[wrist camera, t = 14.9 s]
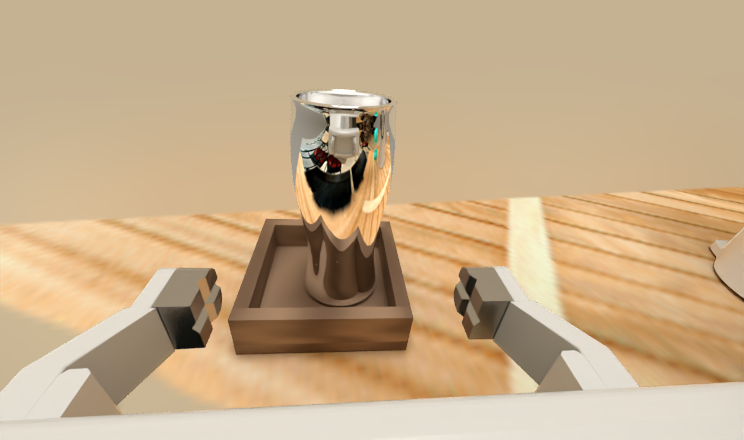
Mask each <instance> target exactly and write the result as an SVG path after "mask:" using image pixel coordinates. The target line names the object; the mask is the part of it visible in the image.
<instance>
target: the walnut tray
mask: <svg viewBox="0 0 744 440" xmlns="http://www.w3.org/2000/svg"><path fill="white" fill-rule="evenodd" d="M307 263H308V242H307V237H306V233H305V228H304V225H303V221H302V220H294V219H266V220H265V223H264V226H263V228H262V231H261V234H260V236H259V239H258V242H257V244H256V247H255V250H254V252H253V255H252V258H251V260H250V263H249V266H248V268H247V271H246V274H245V276H244V279H243V282H242V284H241V287H240V290H239V292H238V295H237V298H236V300H235V303H234V306H233V308H232V311H231V314H230V316H229V319H228V323H229V327H230V331H231V335H232V339H233V343H234V347H235V351H236V354H264V353H302V352H340V351H378V350H406V347H407V342H408V338H409V334H410V329H411V325H412V321H413V315H412V311H411V307H410V303H409V299H408V295H407V291H406V287H405V283H404V279H403V275H402V271H401V267H400V262H399V258H398V254H397V250H396V246H395V242H394V238H393V234H392V230H391V226H390V222H381V223H380V226H379V229H378V233H377V237H376V241H375V246H374V265H375V272H376V285H375V288H374V290H373V292H372V293H371V294H370V295H369V296H368V297H367V298H366V299H364V300H363V301H361V302H358V303H355V304H352V305H347V306H333V305H328V304H325V303H322V302H320V301H318V300H316V299H315V298H313V297H312V296H311V295H310V294H309V292H308V291H307V289H306V286H305V274H306V268H307Z"/></svg>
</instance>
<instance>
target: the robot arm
mask: <svg viewBox="0 0 744 440" xmlns="http://www.w3.org/2000/svg"><path fill="white" fill-rule="evenodd" d="M710 249H711V250H712V252H713V253H714V254H715V256H716V260H715V262H714V268H715V271H716V272H717V274H718V275H719V277H720V278H721V279H722V280H723V281H724V282H725V283H726V284H727V285H728V286H729V287H730V288H731V289H732V290H734V291H735V292H736V293H737V294H739V295H740V296H741V297H743V298H744V228H743V229H742V230H741V231H739V232H738V233H737V234H736V235H735V236H734V237H733V238H732V239H731V240H730V241H726V240H716V241H715V242H714V243H713V244H711V245H710ZM459 278H460V280H461V281H460V282H459V283H458V284H457V285H456V286H455V290H454V302H455V306H456V309H457V312H458V313H460V314H461V315H462V316H463V317H464V318H463V321H462V324H463V327H464V329H465V332H466V334H467V337H468V339H493V341H494V342H495V343H496V344H497V345H498V346H499V347H500V348H501V349H502V350H503V351H504V352H505V353H506V354H507V355H508V356H510V357H511V358H512V359H513V360H514V361H515V362H516V363H517V364H518V365H519V366H520V367H521V368H522V369H523V370H524V371H525V372H526V373H527V374H528V375H529V376H530V377H531V378H532V379H533V380H534V381H535V382H536V383H537V384H538V385H539V387H538V388H537V390H536V391H535V393H519V394H500V395H481V396H463V397H444V398H425V399H406V400H388V401H369V402H350V403H331V404H312V405H293V406H274V407H255V408H236V409H217V410H198V411H179V412H161V413H141V414H122V413H121V411H120V410H119V409H118V407H117V405H118V404H119V403H120V402H121V401H122V400H123V399H124V398H125V397H126V396H127V395H128V394H129V393H130V392H131V391H133V390H134V389H135V388H136V387H137V386H138V385H139V384H140V383H141V382H142V381H143V380H144V379H145V378H146V377H148V376H149V375H150V374H151V373H152V372H153V371H154V370H155V369H156V368H157V367H158V366H159V365H161V364H162V363H163V362H164V361H165V360H166V359H167V358H168V357H169V356H170V355H171V354H172V353H173V352H174V351H175V350H174V349H191V348H205V346H206V344H207V342H208V339H209V337H210V334H211V332H212V330H213V328H212V325H211V322H212V321H213V320H215V319H216V318H217V317H218V315H219V312H220V310H221V304H222V293H221V289H220V287H219V286H217V285H216V284H215V282H216V280H217V275H216V272H215V270H214V269H212V268H161V269H159V270H157V272H156V273H155V274H154V276H153V277H152V278H151V280H150V281H149V283H148V284H147V285H146V287H145V288H144V289H143V291H142V292H141V293H140V295H139V296H138V298H137V299H136V300H135V302H134V303H133V304H132V306H131V307H130V308H125V309H122V310H121V311H119V312H117V313H116V314H114V315H112V316H111V317H109V318H107V319H105V320H104V321H102V322H100V323H99V324H97V325H95V326H94V327H92V328H90V329H89V330H87V331H85V332H84V333H82V334H80V335H78V336H77V337H75V338H74V339H72V340H70V341H68V342H67V343H65V344H63V345H62V346H60V347H58V348H57V349H55V350H53V351H51V352H50V353H48V354H46V355H45V356H43V357H41V358H40V359H38V360H36V361H35V362H33V363H31V364H30V365H28V366H26V367H25V368H23V369H21V371H20V372H19V373H18V374H17V375H16V376H15V377H14V378H13V379H12V380H11V382H10V383H9V384H8V385H7V386H6V387H5V388H4V389H3V390H2V391H1V392H0V440H744V382H727V383H708V384H690V385H671V386H652V387H640V386H639V385H638V384H637V383H636V381H635V380H634V379H633V378H632V376H631V375H630V374H629V373H628V372H627V370H626V369H625V368H624V367H623V365H622V364H621V363H620V362H619V360H618V359H617V358H616V357H615V355H614V354H613V353H612V352H611V351H610V349H609V348H608V347H606V346H604V345H603V344H601V343H600V342H598V341H596V340H595V339H593V338H592V337H590V336H589V335H587V334H585V333H584V332H582V331H581V330H579V329H578V328H576V327H574V326H573V325H571V324H570V323H568V322H567V321H565V320H563V319H562V318H560V317H559V316H557V315H556V314H554V313H552V312H551V311H549V310H548V309H546V308H545V307H543V306H541V305H540V304H538V303H537V302H535V301H530V300H529V298H528V297H527V296H526V294H525V293H524V291H523V290H522V288H521V287H520V285H519V284H518V282H517V281H516V279H515V278H514V276H513V275H512V273H511V272H510V270H509V269H508V268H507V267H505V266H497V267H463V268H462V269H461V270H460V273H459Z"/></svg>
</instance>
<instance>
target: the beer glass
mask: <svg viewBox="0 0 744 440" xmlns="http://www.w3.org/2000/svg"><path fill="white" fill-rule="evenodd" d="M290 97H291V137H290V138H291V141H290V143H291V164H292V174H293V182H294V187H295V192H296V197H297V202H298V205H299V210H300V213H301V217H302V221H303V225H304V228H305V233H306V237H307V242H308V263H307V268H306V274H305V286H306V289H307V291H308V292H309V294H310V295H311V296H312V297H313V298H315V299H316V300H318V301H320V302H322V303H325V304H328V305H333V306H347V305H352V304H355V303H358V302H361V301H363V300H364V299H366V298H367V297H368V296H369V295H370V294H371V293H372V292H373V290H374V288H375V285H376V272H375V265H374V246H375V241H376V237H377V233H378V229H379V226H380V223H381V220H382V216H383V213H384V209H385V206H386V202H387V198H388V194H389V189H390V186H391V179H392V173H393V165H394V151H395V119H396V103H397V101H396V100H395V99H394V98H392V97H390V96H387V95H383V94H378V93H372V92H366V91H358V90H346V89H309V90H301V91H297V92H294V93H292V94H291V96H290Z"/></svg>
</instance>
